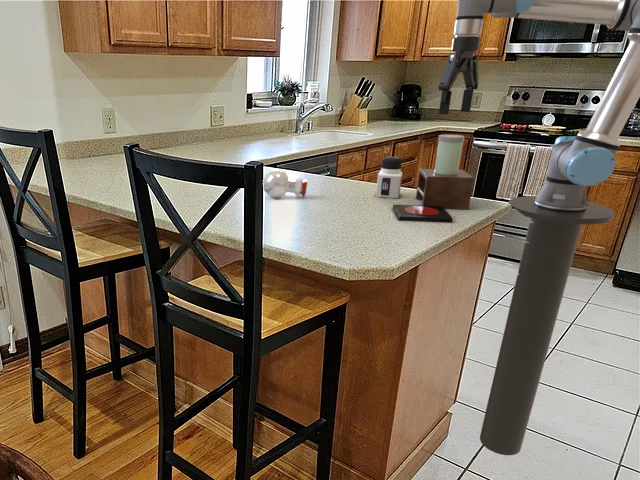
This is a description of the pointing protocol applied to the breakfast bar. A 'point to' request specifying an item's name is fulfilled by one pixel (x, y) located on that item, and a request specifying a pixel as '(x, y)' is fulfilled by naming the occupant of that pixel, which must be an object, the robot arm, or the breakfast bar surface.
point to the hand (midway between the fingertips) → (454, 112)
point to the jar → (448, 154)
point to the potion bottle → (283, 184)
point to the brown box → (444, 189)
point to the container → (389, 178)
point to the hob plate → (422, 213)
